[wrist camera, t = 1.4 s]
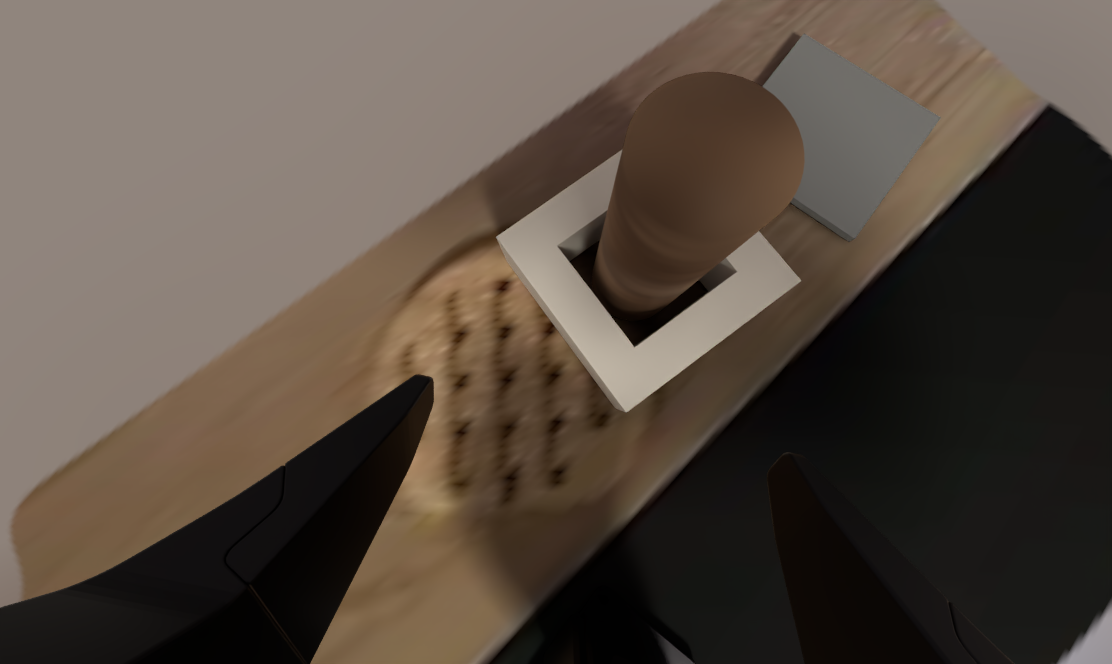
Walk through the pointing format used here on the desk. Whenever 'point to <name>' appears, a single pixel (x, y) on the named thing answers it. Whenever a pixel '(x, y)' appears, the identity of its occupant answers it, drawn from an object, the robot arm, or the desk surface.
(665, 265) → the peg
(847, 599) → the robot arm
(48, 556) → the desk surface
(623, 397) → the frame
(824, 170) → the pad
